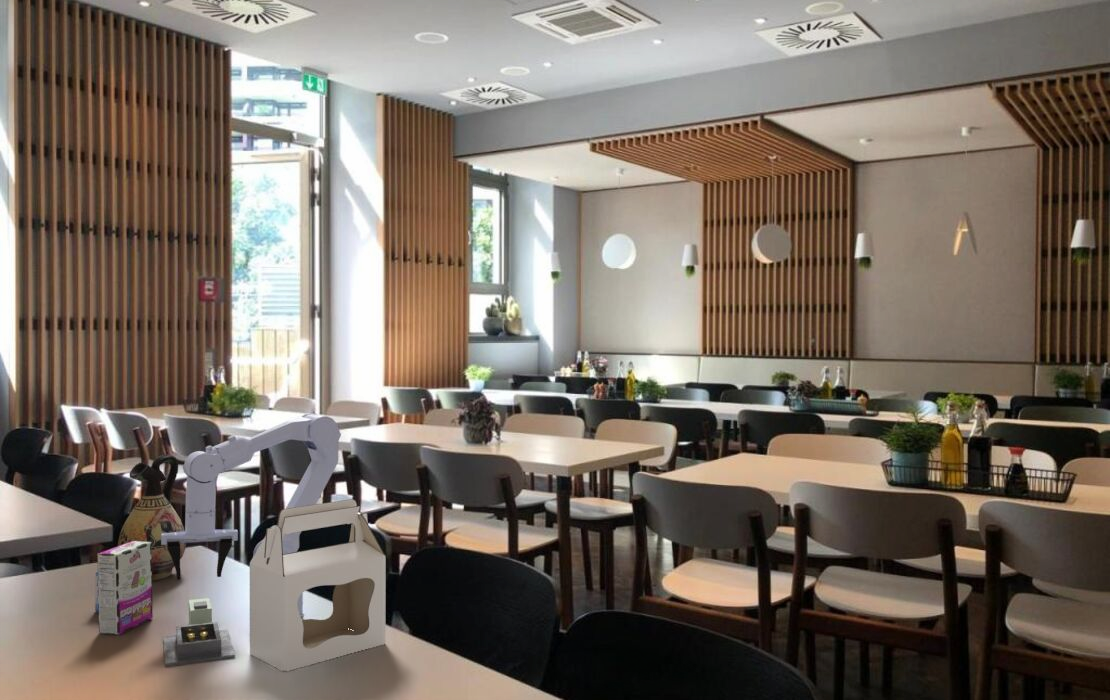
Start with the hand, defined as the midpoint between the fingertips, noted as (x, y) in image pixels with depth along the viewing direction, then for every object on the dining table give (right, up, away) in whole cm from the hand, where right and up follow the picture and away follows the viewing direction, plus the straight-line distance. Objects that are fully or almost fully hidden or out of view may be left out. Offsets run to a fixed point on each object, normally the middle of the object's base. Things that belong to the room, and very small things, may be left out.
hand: (199, 577), depth 191 cm
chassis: (+4, -11, -12) cm, 17 cm away
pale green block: (0, -11, 0) cm, 11 cm away
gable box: (+27, -11, -12) cm, 32 cm away
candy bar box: (-16, -11, +1) cm, 19 cm away
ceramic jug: (-26, -10, +40) cm, 49 cm away
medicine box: (-22, -10, +11) cm, 27 cm away
